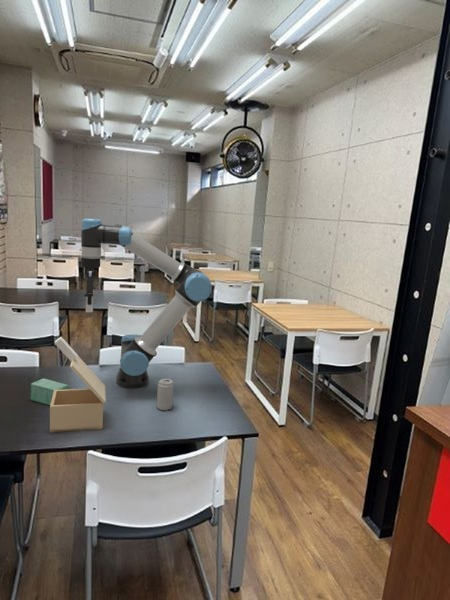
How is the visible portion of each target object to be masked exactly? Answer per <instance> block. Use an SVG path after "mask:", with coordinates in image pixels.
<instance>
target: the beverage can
mask: <svg viewBox="0 0 450 600" xmlns="http://www.w3.org/2000/svg"><path fill="white" fill-rule="evenodd" d="M156 393H157V394H156V408H157V409H158V410H159V411H163V410H165V411H168V409H169V410H170V409H172V408H173V396H174V395H173V393H174V382H173V380H172V379H171V378H161V379H159V381H158V382H157V392H156Z"/></svg>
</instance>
